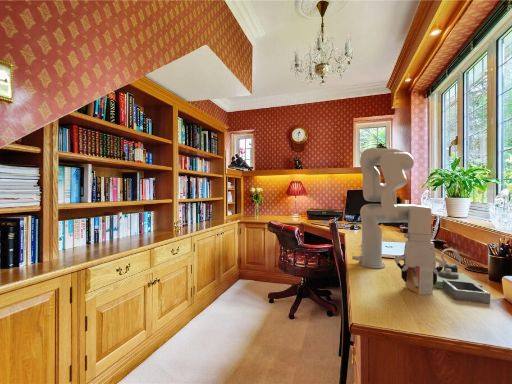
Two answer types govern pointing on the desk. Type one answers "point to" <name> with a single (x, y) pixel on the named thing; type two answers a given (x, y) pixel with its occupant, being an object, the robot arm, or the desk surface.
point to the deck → (452, 278)
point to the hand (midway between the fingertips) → (418, 281)
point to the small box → (420, 279)
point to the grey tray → (466, 291)
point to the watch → (452, 266)
